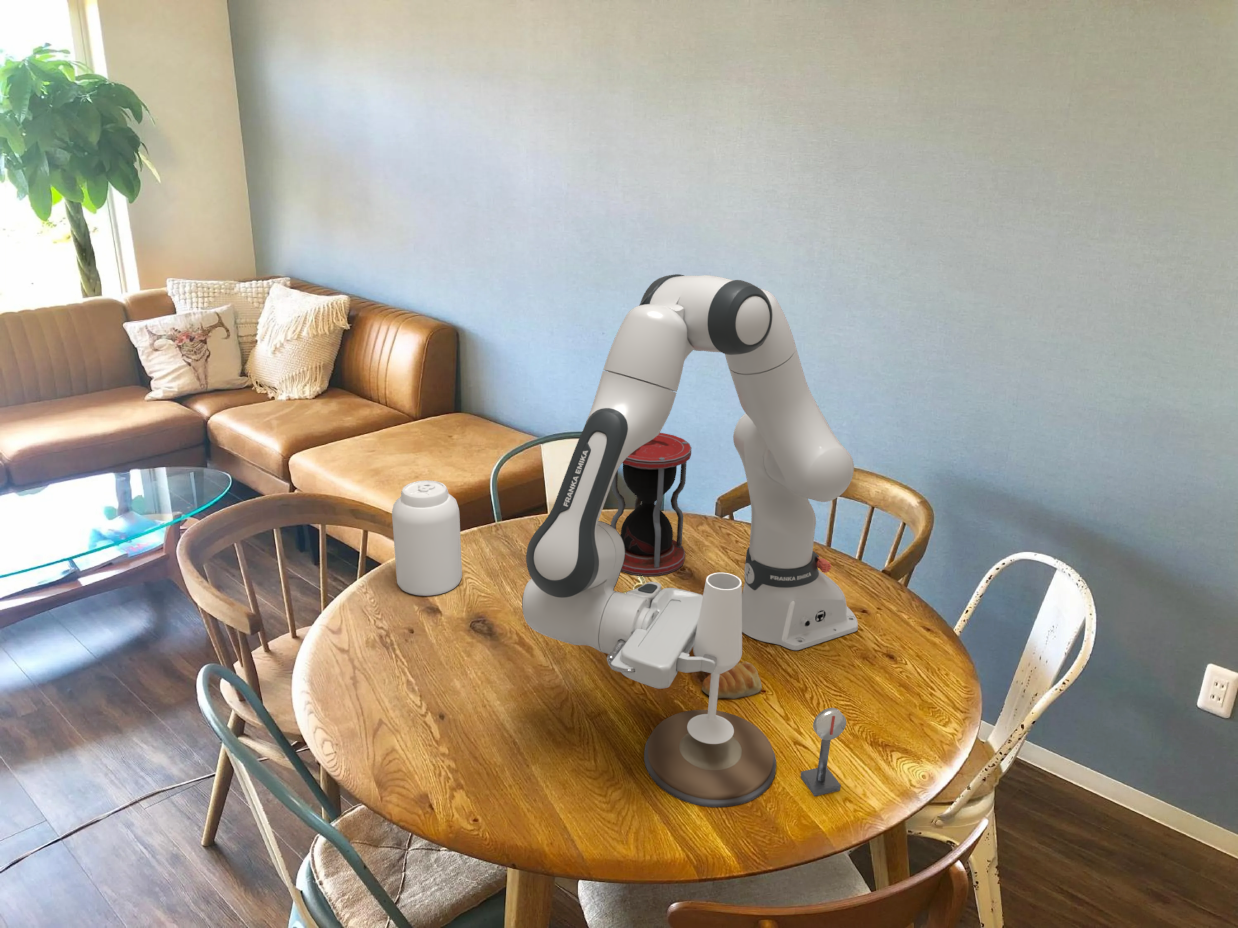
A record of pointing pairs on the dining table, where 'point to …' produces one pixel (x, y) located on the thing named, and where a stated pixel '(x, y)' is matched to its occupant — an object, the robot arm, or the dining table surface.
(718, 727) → the champagne flute
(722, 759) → the turntable
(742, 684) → the pastry
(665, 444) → the hourglass
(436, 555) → the can
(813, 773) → the dial gauge
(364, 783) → the dining table surface
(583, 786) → the dining table surface
